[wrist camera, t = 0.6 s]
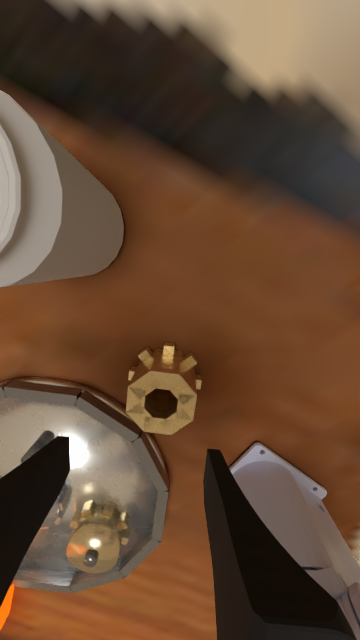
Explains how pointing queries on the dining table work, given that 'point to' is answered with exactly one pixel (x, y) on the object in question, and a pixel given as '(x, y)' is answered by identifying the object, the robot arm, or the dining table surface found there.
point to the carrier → (85, 483)
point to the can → (49, 207)
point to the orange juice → (6, 606)
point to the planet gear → (163, 390)
